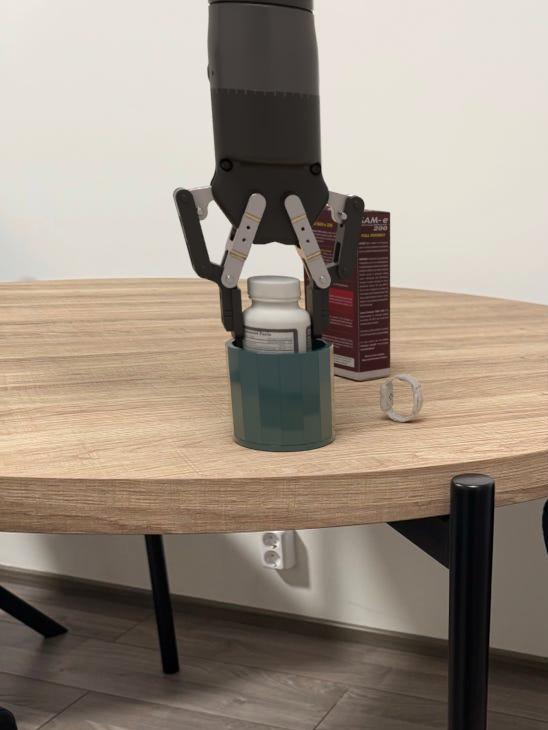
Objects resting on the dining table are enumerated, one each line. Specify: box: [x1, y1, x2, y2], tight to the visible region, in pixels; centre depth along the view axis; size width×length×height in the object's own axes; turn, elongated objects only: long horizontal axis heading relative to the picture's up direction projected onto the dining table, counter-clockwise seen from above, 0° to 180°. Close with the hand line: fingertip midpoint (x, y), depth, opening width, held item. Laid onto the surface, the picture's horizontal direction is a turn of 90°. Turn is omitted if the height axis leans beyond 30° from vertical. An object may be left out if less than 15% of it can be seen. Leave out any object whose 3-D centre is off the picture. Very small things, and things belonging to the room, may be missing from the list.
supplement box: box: [302, 204, 391, 382], centre depth 96 cm, size 9×5×16 cm, turn 48°
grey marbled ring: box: [379, 373, 425, 423], centre depth 83 cm, size 4×2×4 cm, turn 73°
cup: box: [224, 337, 336, 452], centre depth 76 cm, size 8×8×8 cm
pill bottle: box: [242, 274, 312, 353], centre depth 74 cm, size 5×5×10 cm
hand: (277, 336), depth 74 cm, fingers closed on pill bottle, 5 cm apart
